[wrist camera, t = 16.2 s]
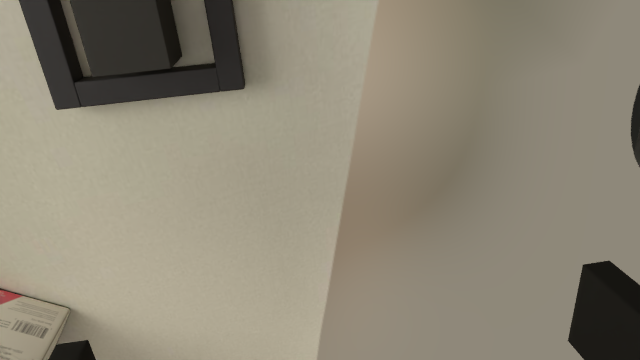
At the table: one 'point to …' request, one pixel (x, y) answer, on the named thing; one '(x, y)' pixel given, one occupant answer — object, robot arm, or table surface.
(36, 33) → the frame pad
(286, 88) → the table surface
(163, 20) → the black box
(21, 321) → the ink box
